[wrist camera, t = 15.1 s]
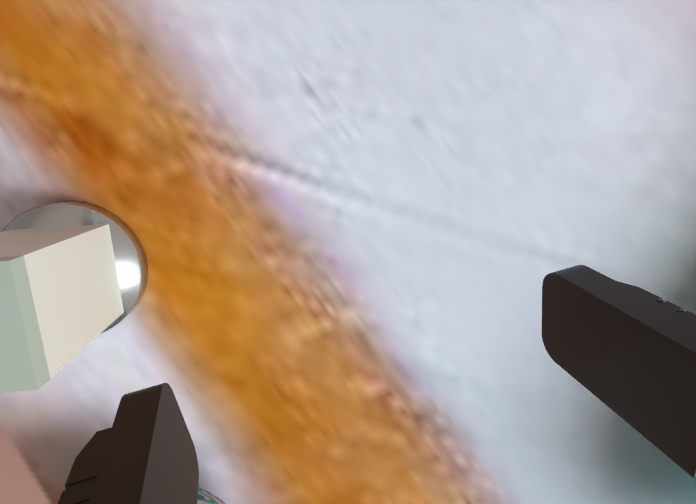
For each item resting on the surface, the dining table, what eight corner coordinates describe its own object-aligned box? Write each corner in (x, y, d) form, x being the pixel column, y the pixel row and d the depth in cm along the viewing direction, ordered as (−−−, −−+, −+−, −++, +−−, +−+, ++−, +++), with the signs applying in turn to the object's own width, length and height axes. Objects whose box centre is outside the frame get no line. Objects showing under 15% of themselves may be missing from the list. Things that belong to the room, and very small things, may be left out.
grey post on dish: (-6, 204, 29) (-109, 222, 22) (138, 197, 30) (85, 212, 23) (22, 334, 31) (-64, 389, 24) (155, 324, 32) (112, 375, 25)
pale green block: (9, 230, 28) (-147, 271, 18) (108, 223, 29) (9, 260, 19) (29, 319, 29) (-106, 402, 20) (123, 312, 30) (38, 389, 20)
